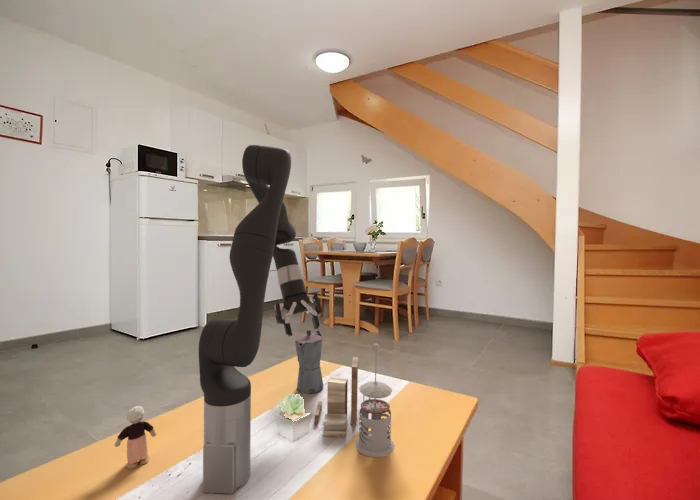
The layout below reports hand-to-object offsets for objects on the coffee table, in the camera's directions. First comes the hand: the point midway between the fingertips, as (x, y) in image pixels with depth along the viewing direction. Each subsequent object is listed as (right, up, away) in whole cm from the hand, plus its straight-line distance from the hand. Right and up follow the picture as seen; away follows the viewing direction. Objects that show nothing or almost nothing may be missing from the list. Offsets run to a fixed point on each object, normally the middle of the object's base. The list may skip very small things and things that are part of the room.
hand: (304, 332), depth 102 cm
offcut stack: (+10, -23, -14) cm, 29 cm away
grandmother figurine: (-34, -22, -28) cm, 49 cm away
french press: (+20, -23, -19) cm, 36 cm away
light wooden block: (+10, -22, -8) cm, 26 cm away
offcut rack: (+10, -22, -7) cm, 26 cm away
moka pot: (0, -22, +12) cm, 25 cm away
